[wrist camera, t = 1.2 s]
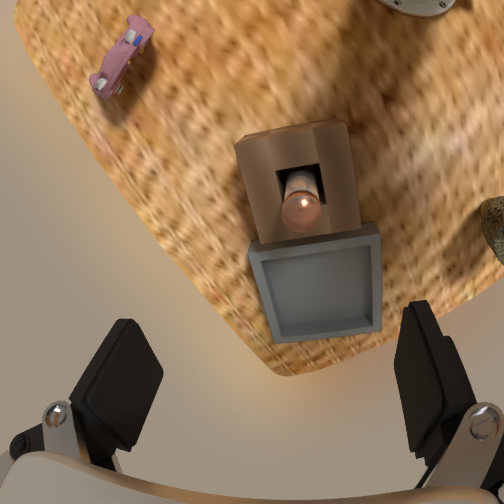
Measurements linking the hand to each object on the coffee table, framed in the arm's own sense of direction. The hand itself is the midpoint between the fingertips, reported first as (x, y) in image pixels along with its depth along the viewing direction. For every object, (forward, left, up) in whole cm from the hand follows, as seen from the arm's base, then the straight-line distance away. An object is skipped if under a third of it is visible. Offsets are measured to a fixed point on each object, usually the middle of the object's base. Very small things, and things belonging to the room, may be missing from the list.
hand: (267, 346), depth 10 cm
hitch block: (-1, +1, -25) cm, 25 cm away
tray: (-1, +16, -25) cm, 30 cm away
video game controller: (+14, -17, -26) cm, 34 cm away
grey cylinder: (-1, +1, -25) cm, 25 cm away
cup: (-25, +9, -26) cm, 37 cm away
